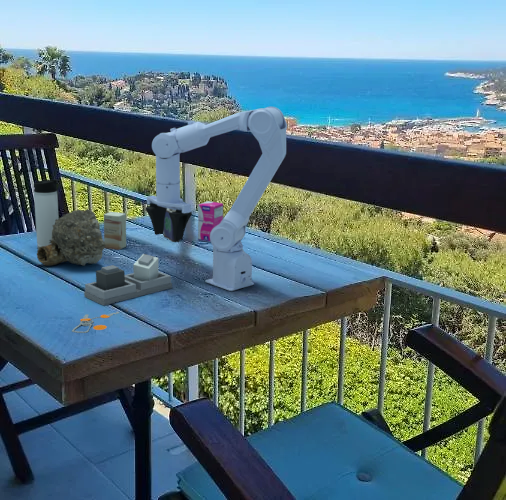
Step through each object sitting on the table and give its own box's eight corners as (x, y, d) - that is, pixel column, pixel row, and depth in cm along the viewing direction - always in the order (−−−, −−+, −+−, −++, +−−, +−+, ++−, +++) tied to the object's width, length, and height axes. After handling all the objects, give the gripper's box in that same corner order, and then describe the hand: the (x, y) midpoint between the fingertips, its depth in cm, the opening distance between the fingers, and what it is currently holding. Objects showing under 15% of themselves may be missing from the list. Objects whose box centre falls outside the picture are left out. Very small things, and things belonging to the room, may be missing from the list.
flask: (161, 235, 211) (161, 202, 208) (170, 234, 212) (170, 201, 209) (172, 242, 203) (172, 207, 200) (181, 241, 204) (181, 207, 202)
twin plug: (125, 291, 154) (124, 267, 153) (106, 296, 151) (105, 271, 149) (115, 287, 157) (114, 263, 156) (96, 291, 154) (95, 267, 152)
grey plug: (158, 275, 163) (158, 255, 159) (149, 286, 159) (148, 265, 155) (143, 271, 164) (143, 251, 160) (133, 282, 159) (133, 261, 156)
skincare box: (103, 248, 195) (102, 214, 192) (111, 244, 199) (110, 211, 196) (119, 250, 193) (118, 215, 191) (127, 246, 197) (126, 213, 195)
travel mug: (57, 251, 190) (53, 181, 185) (34, 251, 190) (29, 180, 185) (64, 246, 196) (60, 177, 191) (41, 245, 196) (37, 177, 191)
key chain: (101, 336, 133) (101, 332, 133) (66, 333, 134) (65, 329, 134) (122, 313, 145) (122, 310, 145) (89, 311, 146) (89, 307, 146)
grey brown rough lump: (106, 199, 177) (49, 193, 169) (113, 247, 171) (53, 244, 163) (84, 234, 191) (30, 230, 183) (90, 280, 185) (34, 278, 177)
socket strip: (172, 287, 162) (172, 275, 161) (103, 305, 149) (103, 292, 148) (152, 280, 167) (151, 268, 166) (84, 296, 154) (83, 284, 153)
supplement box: (197, 240, 206) (197, 203, 203) (207, 236, 211) (207, 200, 208) (213, 243, 203) (213, 206, 200) (223, 239, 208) (223, 202, 205)
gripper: (200, 184, 162) (200, 239, 165) (162, 177, 171) (163, 229, 175) (177, 188, 157) (177, 244, 160) (139, 180, 166) (140, 233, 170)
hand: (168, 236), depth 167 cm, fingers open, 7 cm apart
